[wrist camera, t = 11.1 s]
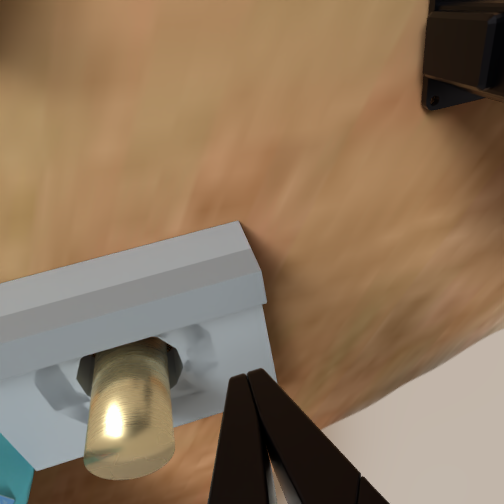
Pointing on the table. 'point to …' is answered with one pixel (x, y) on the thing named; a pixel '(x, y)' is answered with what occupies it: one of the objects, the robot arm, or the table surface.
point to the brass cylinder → (130, 411)
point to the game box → (14, 475)
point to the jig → (128, 333)
